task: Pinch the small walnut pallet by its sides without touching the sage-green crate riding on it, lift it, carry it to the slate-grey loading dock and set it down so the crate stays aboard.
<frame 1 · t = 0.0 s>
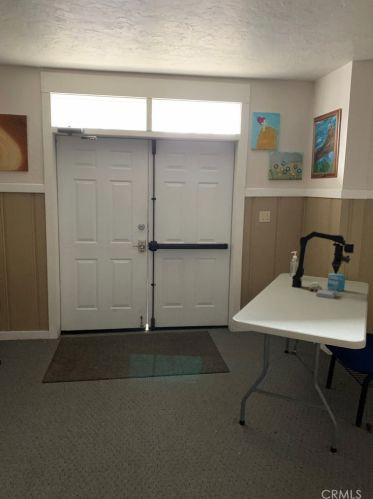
hand: (336, 272, 293), 15 cm above the table, fingers open, 9 cm apart
dock: (325, 295, 284), on the table
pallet: (315, 291, 296), on the table, touching crate
data package: (335, 290, 302), on the table
crate: (315, 286, 296), point 3 cm above the table, touching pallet
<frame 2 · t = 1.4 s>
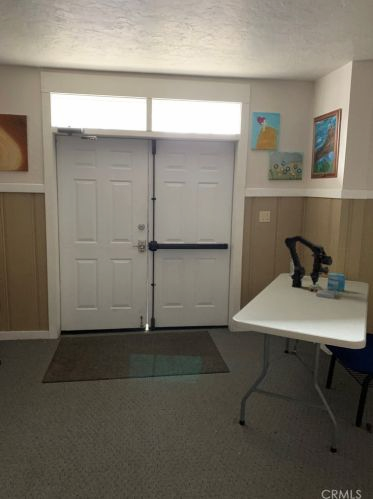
hand: (315, 283, 295), 6 cm above the table, fingers open, 9 cm apart
nothing on the table moved.
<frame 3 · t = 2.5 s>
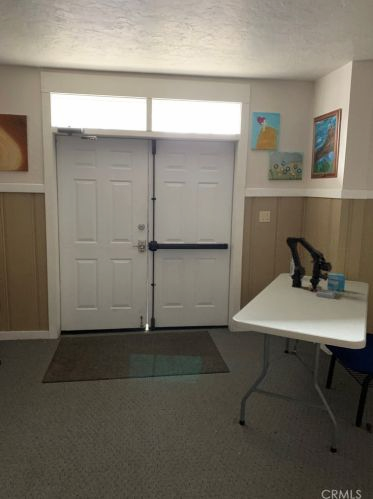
hand: (315, 289, 296), 1 cm above the table, fingers closed on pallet, 5 cm apart
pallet: (315, 291, 296), on the table, touching crate, gripper
everything else where it was.
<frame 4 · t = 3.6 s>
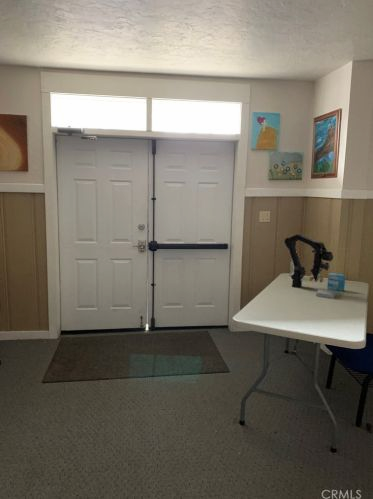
hand: (316, 279, 295), 9 cm above the table, fingers closed on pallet, 5 cm apart
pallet: (316, 280, 295), point 8 cm above the table, touching crate, gripper
crate: (316, 276, 294), point 11 cm above the table, touching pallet
everything else where it was.
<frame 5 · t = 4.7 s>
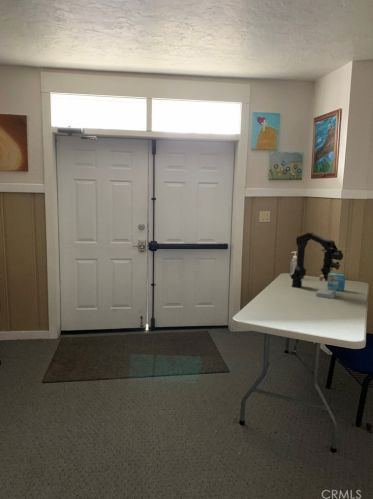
hand: (326, 279, 283), 12 cm above the table, fingers closed on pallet, 5 cm apart
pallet: (326, 280, 283), point 11 cm above the table, touching crate, gripper
crate: (326, 276, 283), point 14 cm above the table, touching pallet
everything else where it was.
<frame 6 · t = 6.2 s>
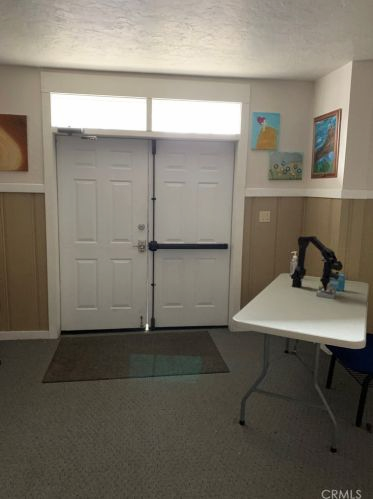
hand: (325, 289, 284), 5 cm above the table, fingers closed on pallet, 5 cm apart
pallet: (325, 290, 284), point 4 cm above the table, touching crate, gripper
crate: (326, 285, 283), point 7 cm above the table, touching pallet
everything else where it was.
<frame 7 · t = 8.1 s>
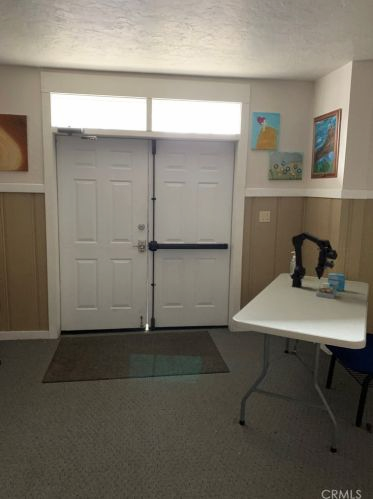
hand: (320, 277, 288), 12 cm above the table, fingers open, 9 cm apart
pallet: (325, 292, 284), point 2 cm above the table, touching crate, dock
crate: (325, 287, 284), point 6 cm above the table, touching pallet
everything else where it was.
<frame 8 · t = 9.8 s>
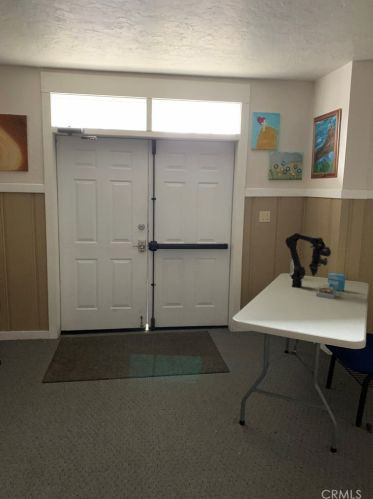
hand: (314, 275, 293), 13 cm above the table, fingers open, 9 cm apart
nothing on the table moved.
at the end: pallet inside the target area on the dock (0.2 cm from its centre), point 2.5 cm above the dock's base; crate 0.0 cm from the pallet (horizontally); crate point 6.0 cm above the table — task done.
